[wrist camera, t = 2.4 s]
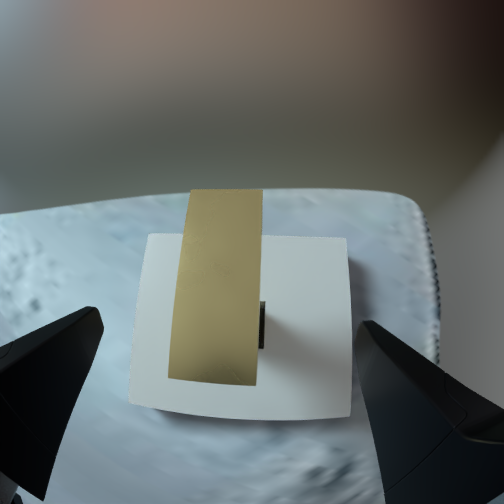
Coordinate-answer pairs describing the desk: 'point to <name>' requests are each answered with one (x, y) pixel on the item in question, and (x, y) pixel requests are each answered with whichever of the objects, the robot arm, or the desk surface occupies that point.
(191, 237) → the t key
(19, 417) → the robot arm
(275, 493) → the desk surface
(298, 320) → the cover plate
